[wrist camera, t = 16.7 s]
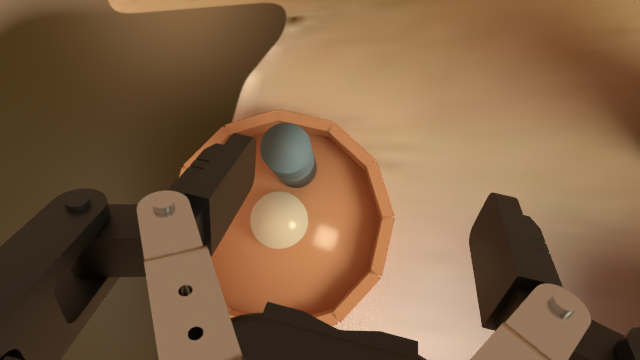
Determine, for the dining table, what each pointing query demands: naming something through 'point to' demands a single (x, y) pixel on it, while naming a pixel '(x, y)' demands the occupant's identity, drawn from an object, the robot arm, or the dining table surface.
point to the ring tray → (305, 227)
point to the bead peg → (289, 154)
